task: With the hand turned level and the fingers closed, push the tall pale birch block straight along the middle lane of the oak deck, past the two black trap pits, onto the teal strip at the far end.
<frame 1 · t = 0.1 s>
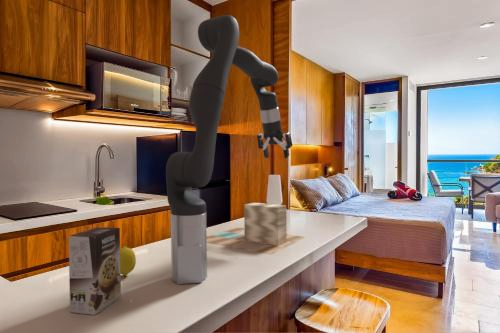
hand: (276, 157, 136), 31 cm above the countertop, tool tilted 20°, fingers open, 8 cm apart
trap deck: (251, 242, 123), on the countertop
birch block: (265, 240, 119), point 1 cm above the countertop, touching trap deck
grey snack box: (97, 305, 72), on the countertop
lemon: (125, 276, 89), on the countertop
champagne flute: (274, 232, 140), on the countertop
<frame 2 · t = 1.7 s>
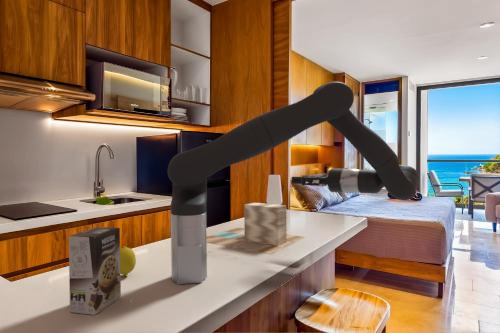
hand: (297, 179, 112), 24 cm above the countertop, tool horizontal, fingers open, 7 cm apart
nothing on the countertop moved.
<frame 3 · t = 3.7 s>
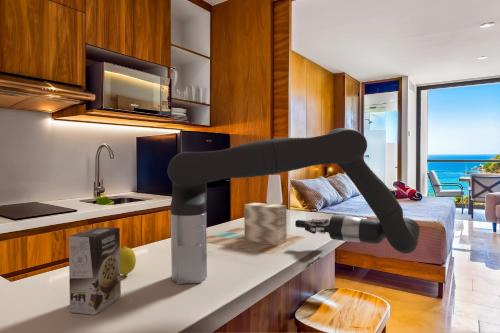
hand: (296, 223, 112), 9 cm above the countertop, tool horizontal, fingers closed
nothing on the countertop moved.
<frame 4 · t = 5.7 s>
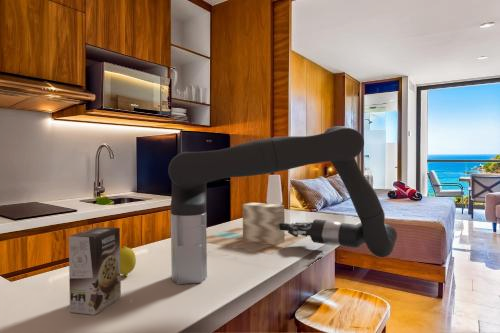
hand: (280, 226, 115), 8 cm above the countertop, tool horizontal, fingers closed
birch block: (263, 240, 120), point 2 cm above the countertop, touching gripper, trap deck
everything else where it was.
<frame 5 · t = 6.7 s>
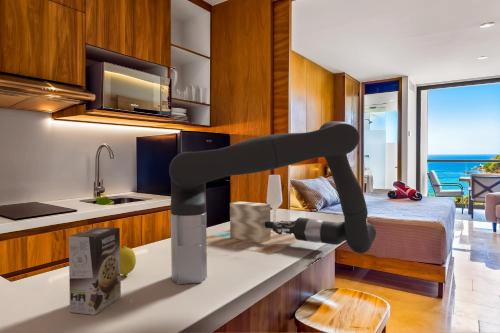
hand: (266, 224, 119), 8 cm above the countertop, tool horizontal, fingers closed
birch block: (250, 238, 123), point 2 cm above the countertop, touching gripper, trap deck
everything else where it was.
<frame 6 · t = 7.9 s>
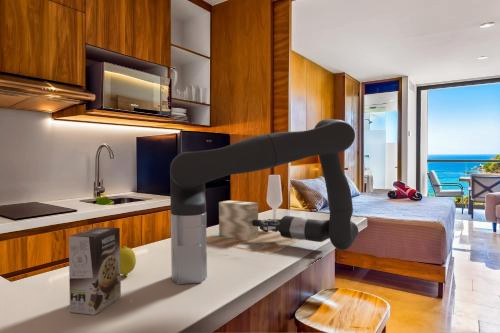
hand: (253, 222, 122), 8 cm above the countertop, tool horizontal, fingers closed
birch block: (238, 236, 126), point 2 cm above the countertop, touching gripper, trap deck
everything else where it was.
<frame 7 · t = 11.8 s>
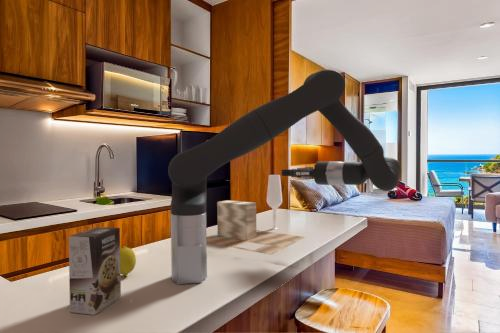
hand: (282, 172, 114), 26 cm above the countertop, tool horizontal, fingers closed
birch block: (236, 236, 126), point 1 cm above the countertop, touching trap deck
everything else where it was.
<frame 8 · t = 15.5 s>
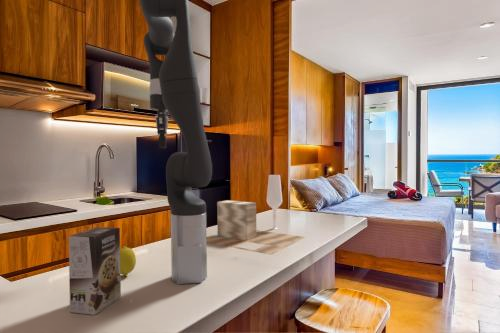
hand: (162, 147, 109), 35 cm above the countertop, tool pointing down, fingers closed
nothing on the countertop moved.
at the end: birch block 1.6 cm from the target spot on the trap deck, point 1.5 cm above the trap deck's base; birch block tilted 0°; birch block moved 12.8 cm from its start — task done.
